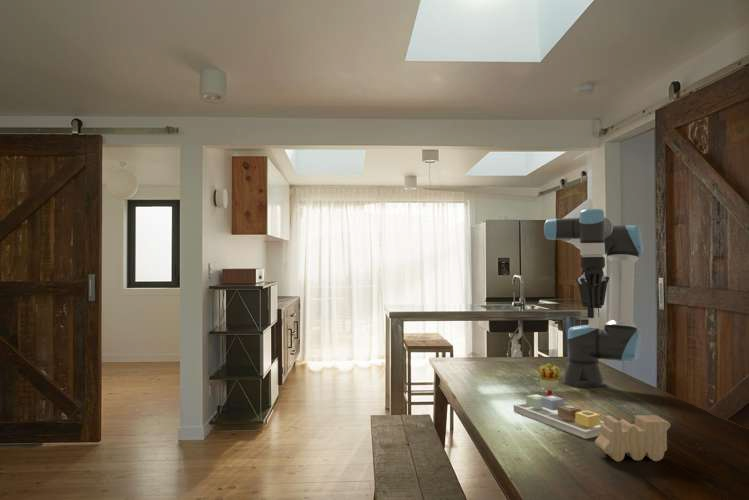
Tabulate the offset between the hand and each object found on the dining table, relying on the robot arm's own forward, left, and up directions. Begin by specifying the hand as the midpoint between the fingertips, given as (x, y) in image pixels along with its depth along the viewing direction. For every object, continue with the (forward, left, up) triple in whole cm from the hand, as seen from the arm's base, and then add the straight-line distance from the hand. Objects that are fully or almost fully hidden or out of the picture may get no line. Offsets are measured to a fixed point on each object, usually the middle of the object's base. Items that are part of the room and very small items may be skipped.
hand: (593, 327), depth 172 cm
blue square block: (+16, -3, -25) cm, 30 cm away
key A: (+16, +11, -26) cm, 32 cm away
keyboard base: (+16, +1, -28) cm, 32 cm away
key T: (+16, +4, -26) cm, 31 cm away
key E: (+16, -10, -26) cm, 32 cm away
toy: (+3, -17, -28) cm, 33 cm away
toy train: (+22, +31, -28) cm, 47 cm away
